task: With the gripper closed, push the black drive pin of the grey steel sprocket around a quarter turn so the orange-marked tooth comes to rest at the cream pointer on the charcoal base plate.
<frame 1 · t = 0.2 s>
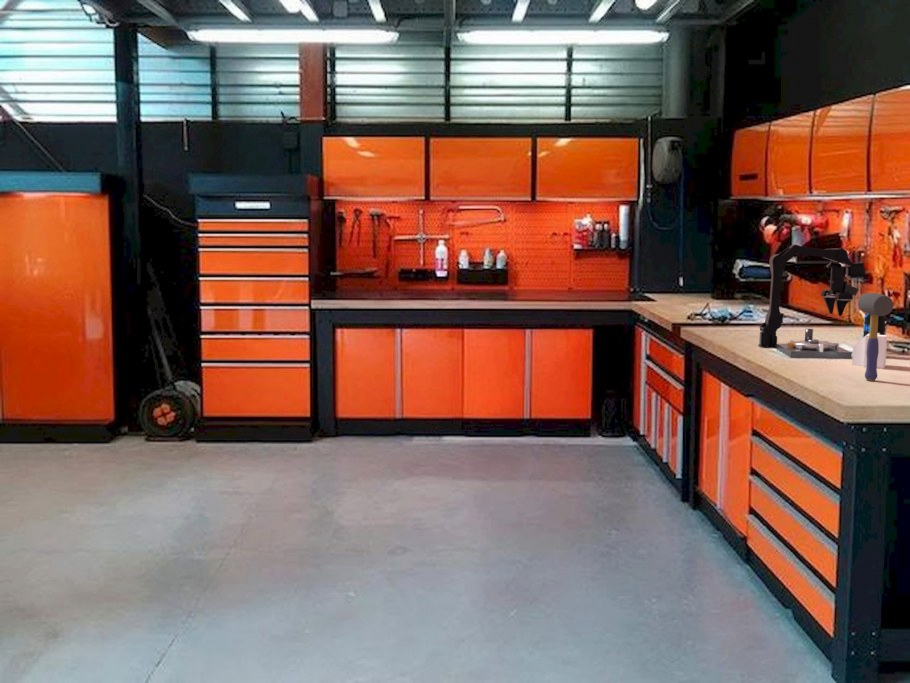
hand: (835, 314, 404), 14 cm above the table, fingers open, 9 cm apart
aerosol can: (872, 356, 382), on the table
sprocket: (813, 338, 387), point 6 cm above the table, hinge at 0.0°
index base: (812, 353, 388), on the table
rubber mallet: (870, 381, 324), on the table
corner bracket: (868, 366, 358), on the table
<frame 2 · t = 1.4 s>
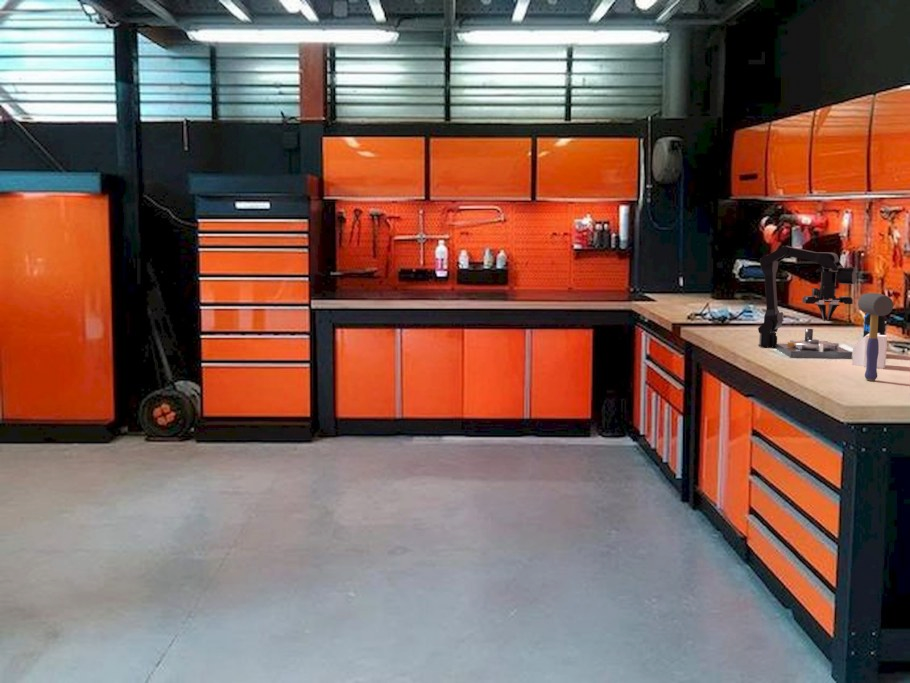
hand: (826, 320, 392), 13 cm above the table, fingers closed
nothing on the table moved.
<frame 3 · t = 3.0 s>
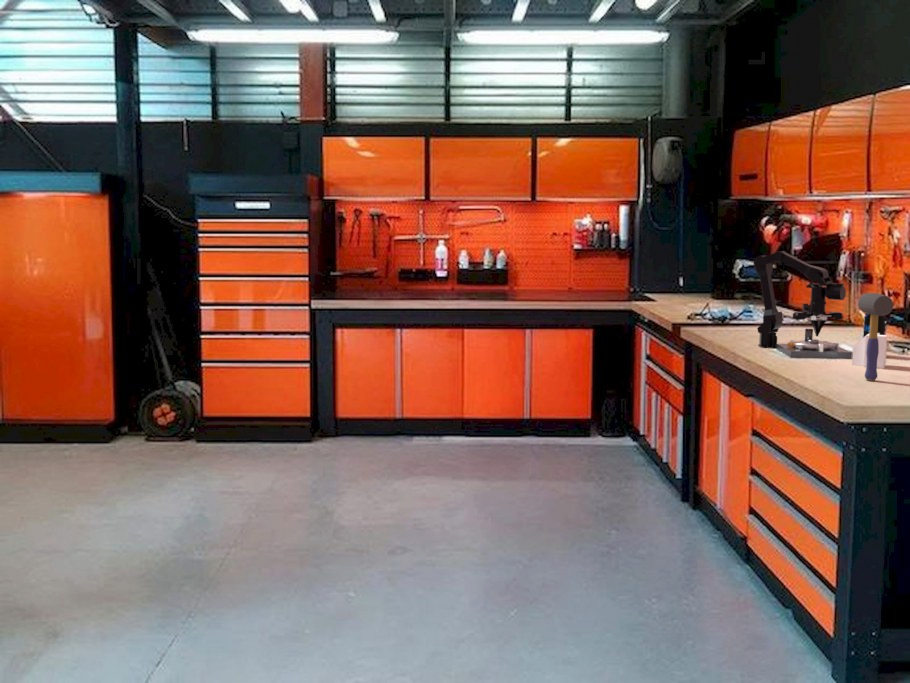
hand: (816, 336, 394), 6 cm above the table, fingers closed
sprocket: (813, 338, 387), point 6 cm above the table, hinge at 0.3°, touching gripper
everything else where it was.
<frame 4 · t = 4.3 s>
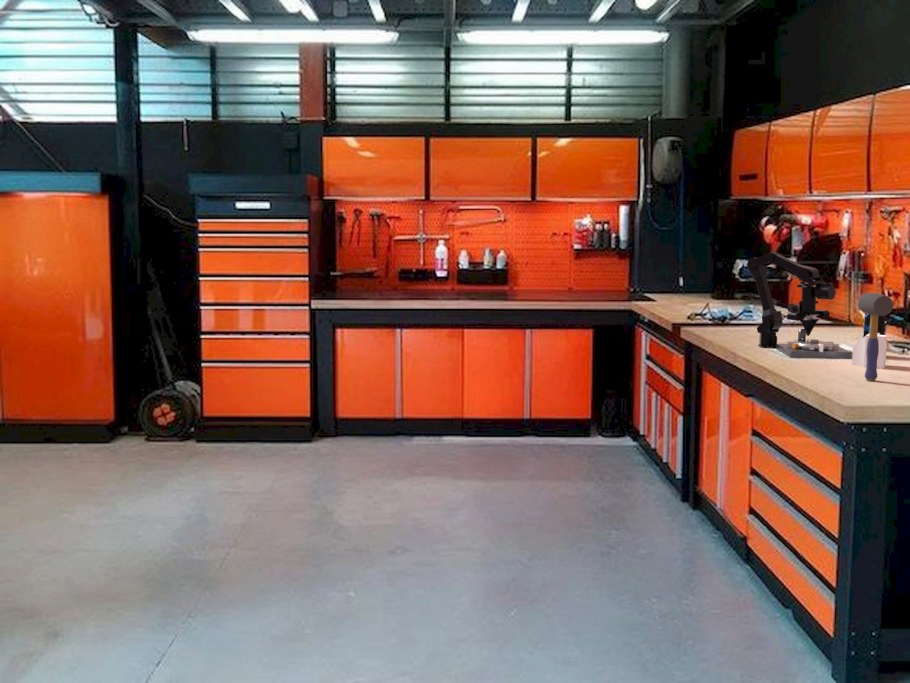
hand: (807, 335, 395), 7 cm above the table, fingers closed
sprocket: (813, 338, 387), point 6 cm above the table, hinge at 27.2°, touching gripper
everything else where it was.
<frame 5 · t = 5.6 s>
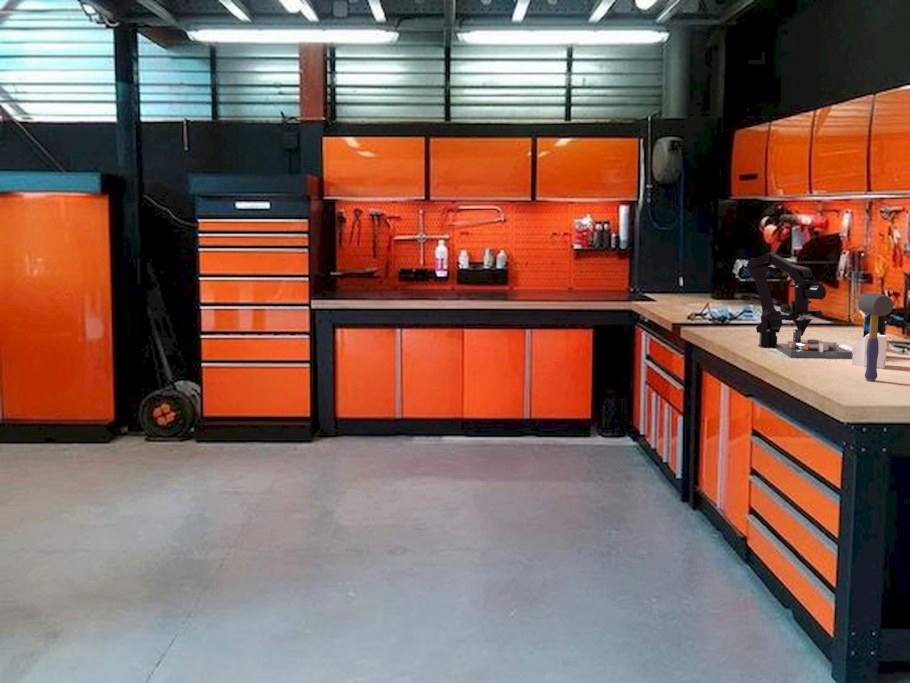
hand: (801, 335, 393), 7 cm above the table, fingers closed
sprocket: (813, 338, 387), point 6 cm above the table, hinge at 59.2°, touching gripper
everything else where it was.
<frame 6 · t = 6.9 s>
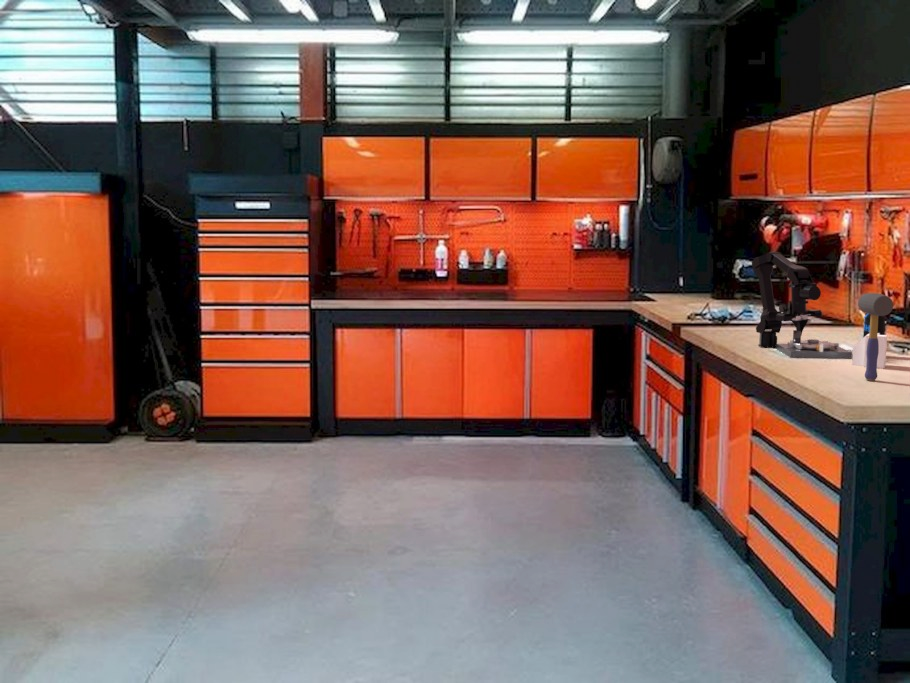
hand: (799, 336, 391), 7 cm above the table, fingers closed
sprocket: (813, 338, 387), point 6 cm above the table, hinge at 88.8°, touching gripper
everything else where it was.
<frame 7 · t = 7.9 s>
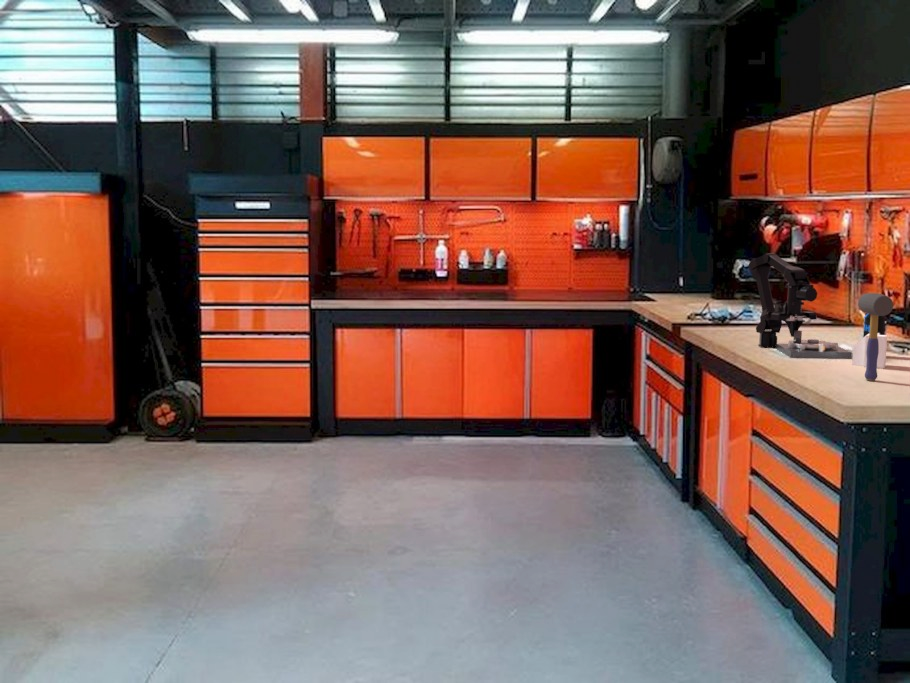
hand: (792, 336, 393), 6 cm above the table, fingers closed
sprocket: (813, 338, 387), point 6 cm above the table, hinge at 96.1°
everything else where it was.
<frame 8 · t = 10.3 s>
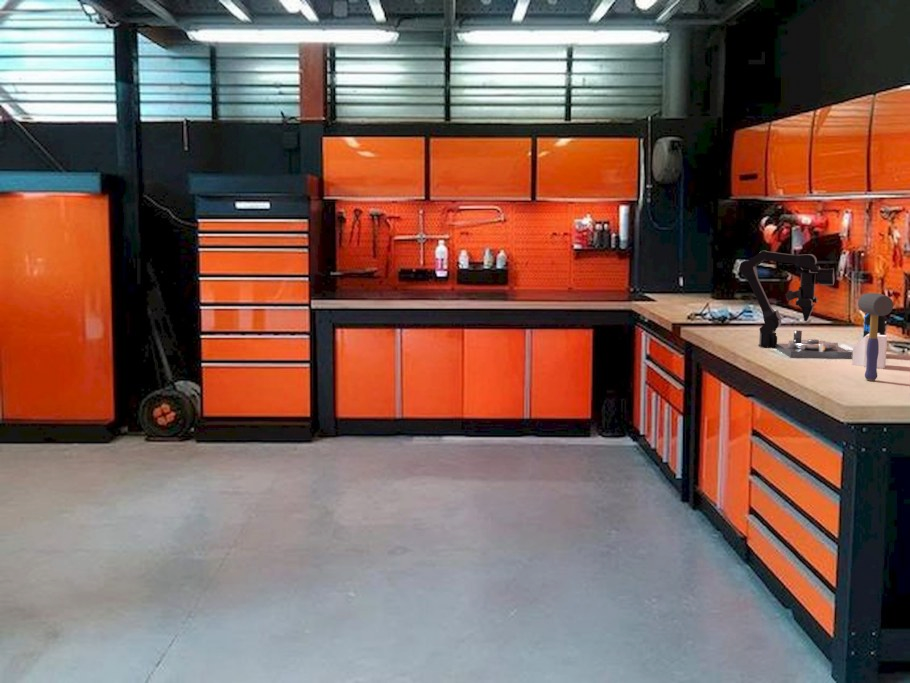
hand: (805, 321, 400), 12 cm above the table, fingers closed
nothing on the table moved.
at the end: sprocket at +96° (first picture: +0°) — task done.
